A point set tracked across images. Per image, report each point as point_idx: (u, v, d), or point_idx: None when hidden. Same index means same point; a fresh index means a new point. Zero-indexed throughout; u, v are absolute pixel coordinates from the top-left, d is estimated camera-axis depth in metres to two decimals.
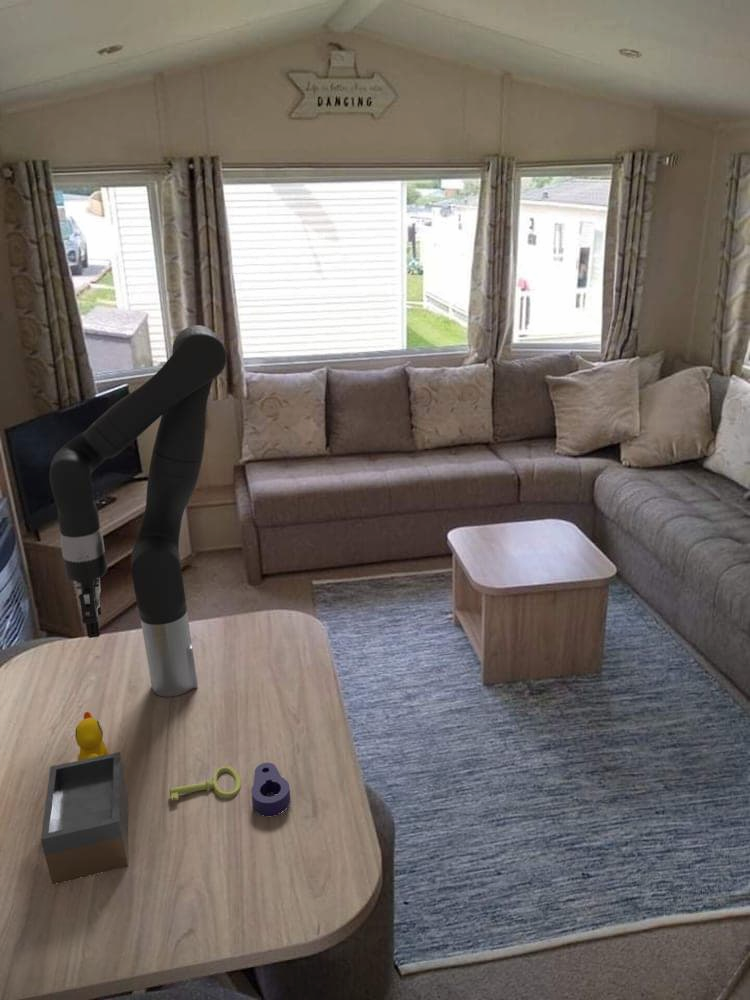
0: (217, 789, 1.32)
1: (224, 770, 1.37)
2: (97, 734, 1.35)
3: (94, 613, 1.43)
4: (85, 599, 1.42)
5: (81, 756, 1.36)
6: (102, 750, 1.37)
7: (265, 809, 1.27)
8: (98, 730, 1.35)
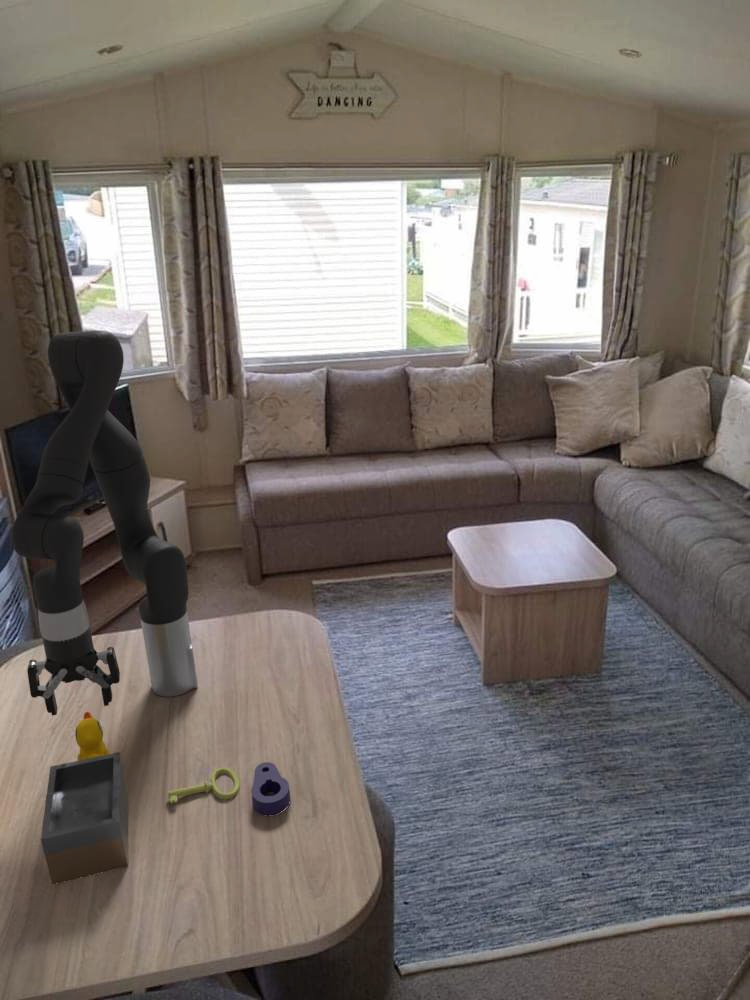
0: (216, 790, 1.31)
1: (222, 771, 1.37)
2: (97, 734, 1.35)
3: None
4: (114, 655, 1.31)
5: (81, 756, 1.36)
6: (102, 750, 1.37)
7: (265, 809, 1.27)
8: (98, 729, 1.35)
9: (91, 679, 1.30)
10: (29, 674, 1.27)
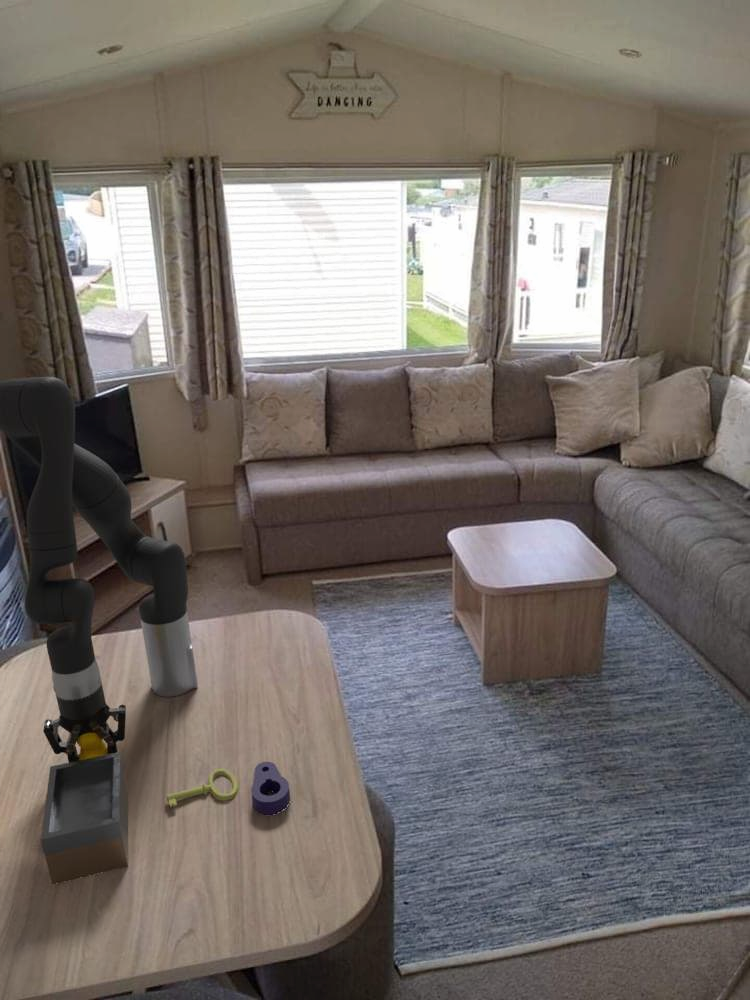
0: (215, 792, 1.31)
1: (219, 773, 1.36)
2: None
3: None
4: (125, 713, 1.36)
5: (81, 756, 1.36)
6: (102, 750, 1.37)
7: (265, 808, 1.27)
8: None
9: (100, 735, 1.34)
10: (46, 734, 1.32)
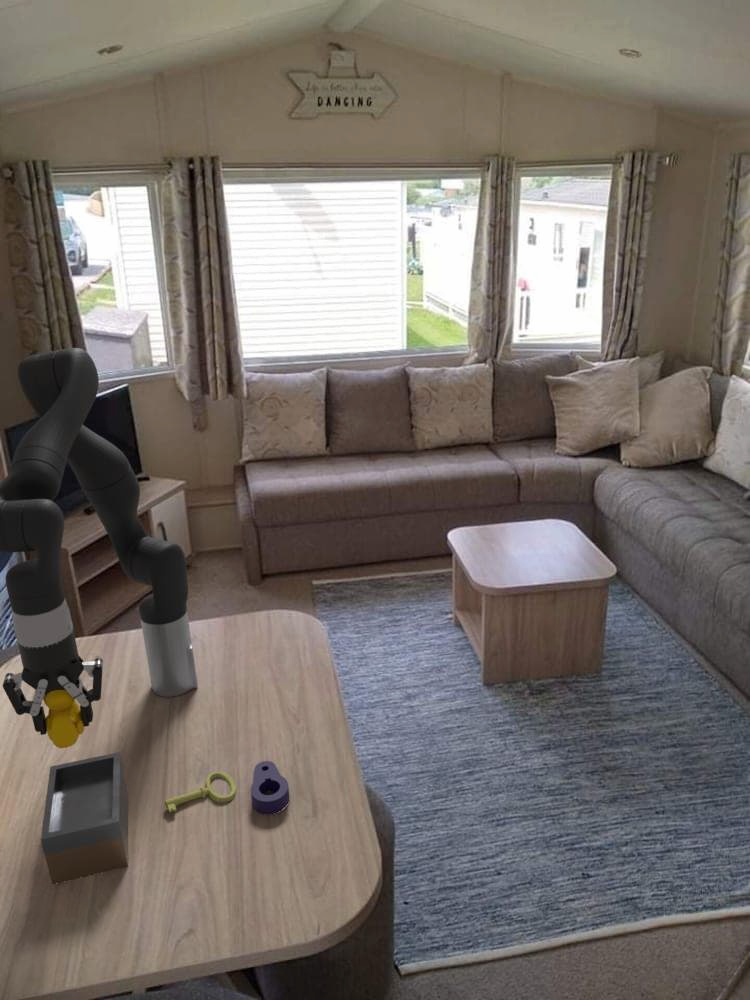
0: (214, 794, 1.31)
1: (215, 775, 1.36)
2: None
3: None
4: None
5: (49, 718, 1.15)
6: (74, 712, 1.15)
7: (264, 807, 1.27)
8: None
9: (71, 693, 1.12)
10: (6, 690, 1.10)
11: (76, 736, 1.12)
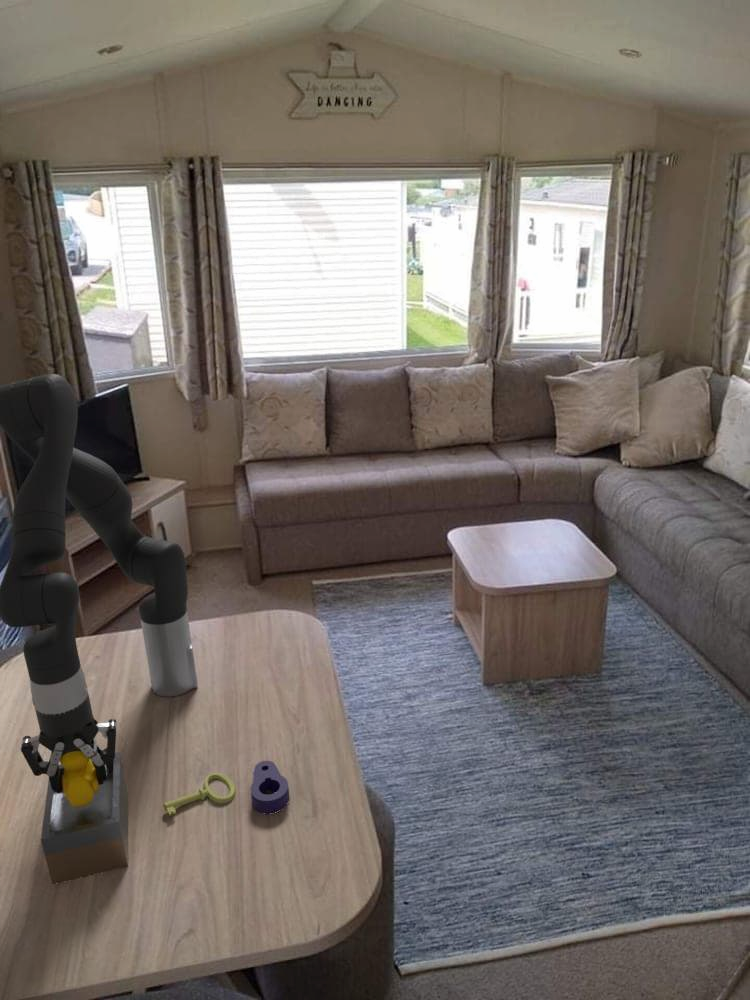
0: (213, 796, 1.30)
1: (213, 777, 1.35)
2: None
3: None
4: None
5: (65, 777, 1.19)
6: (89, 771, 1.20)
7: (264, 807, 1.27)
8: None
9: (86, 754, 1.17)
10: (24, 753, 1.14)
11: (92, 795, 1.17)
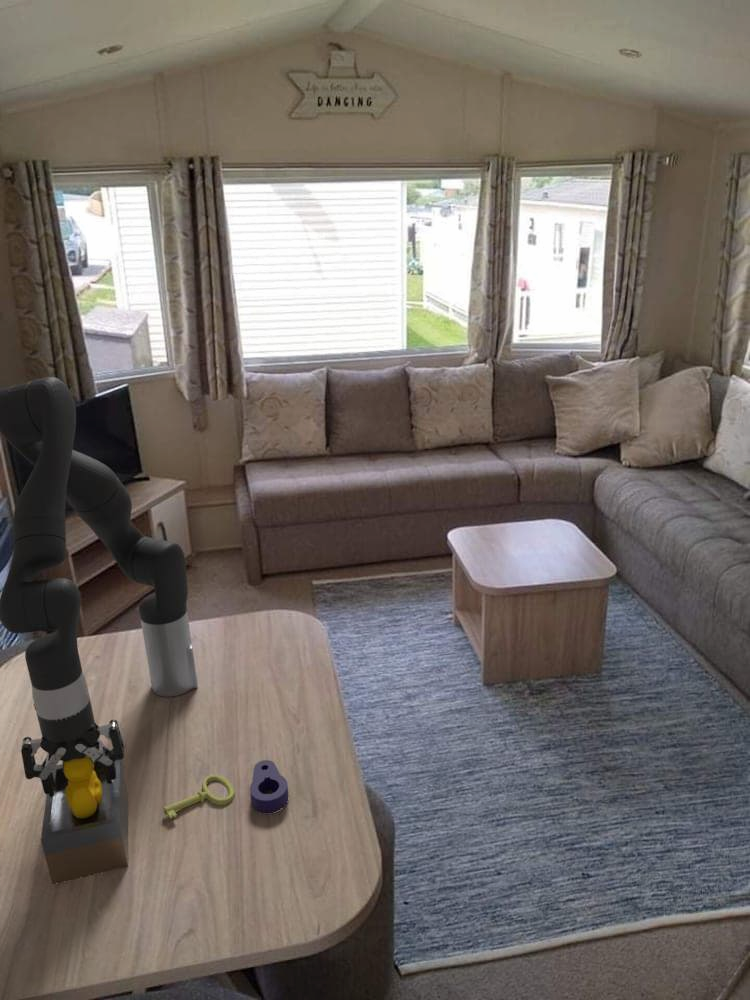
0: (213, 797, 1.30)
1: (211, 779, 1.35)
2: (87, 764, 1.18)
3: None
4: (117, 729, 1.18)
5: (69, 789, 1.20)
6: (93, 782, 1.21)
7: (263, 806, 1.27)
8: (88, 759, 1.19)
9: (92, 757, 1.17)
10: (23, 755, 1.14)
11: (95, 806, 1.18)
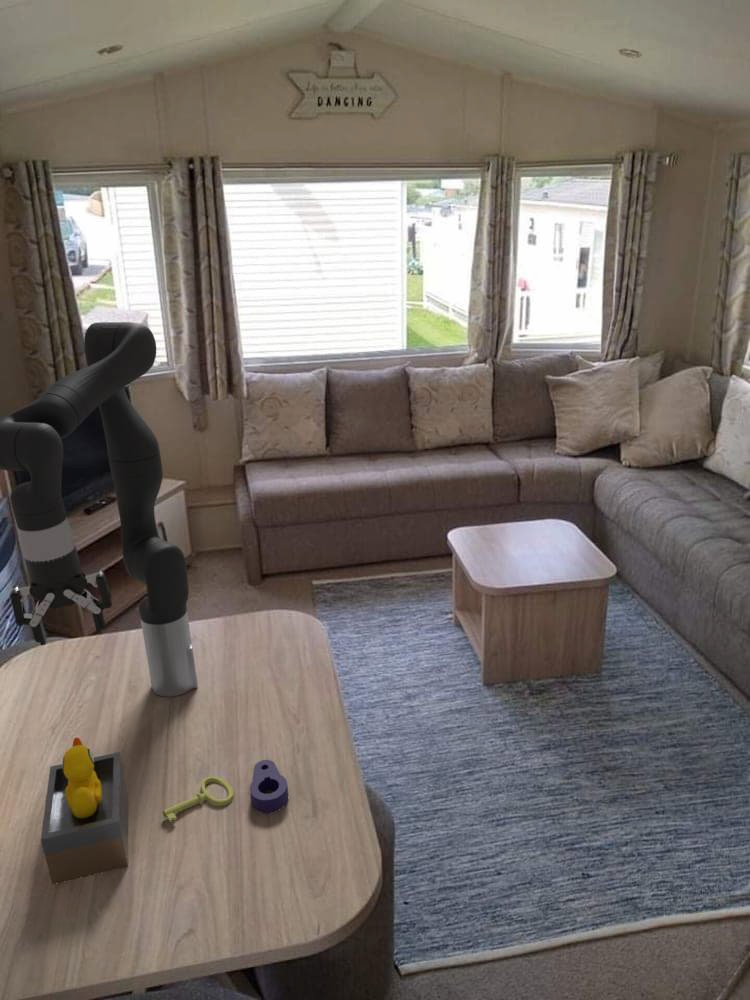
0: (212, 799, 1.30)
1: (209, 780, 1.35)
2: (87, 764, 1.18)
3: (109, 590, 1.24)
4: (104, 577, 1.21)
5: (69, 789, 1.20)
6: (93, 782, 1.21)
7: (263, 806, 1.27)
8: (88, 759, 1.19)
9: (81, 604, 1.20)
10: (13, 600, 1.17)
11: (95, 807, 1.18)
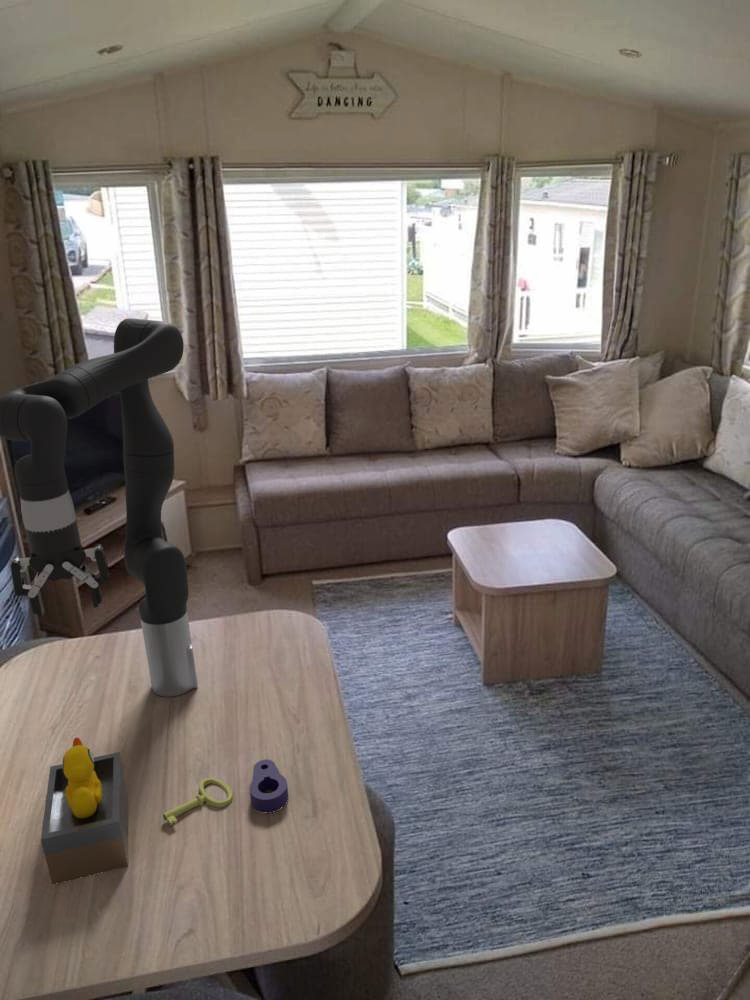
0: (212, 800, 1.29)
1: (207, 782, 1.34)
2: (87, 764, 1.18)
3: (107, 565, 1.26)
4: (103, 551, 1.24)
5: (69, 789, 1.20)
6: (93, 782, 1.21)
7: (263, 806, 1.27)
8: (88, 759, 1.19)
9: (79, 577, 1.23)
10: (13, 570, 1.20)
11: (95, 806, 1.18)
